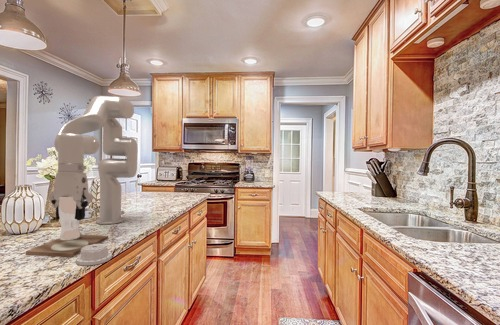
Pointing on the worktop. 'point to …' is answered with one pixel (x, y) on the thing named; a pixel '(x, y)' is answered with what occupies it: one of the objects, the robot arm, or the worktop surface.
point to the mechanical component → (94, 255)
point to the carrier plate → (66, 246)
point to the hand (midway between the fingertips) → (70, 218)
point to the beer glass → (68, 218)
